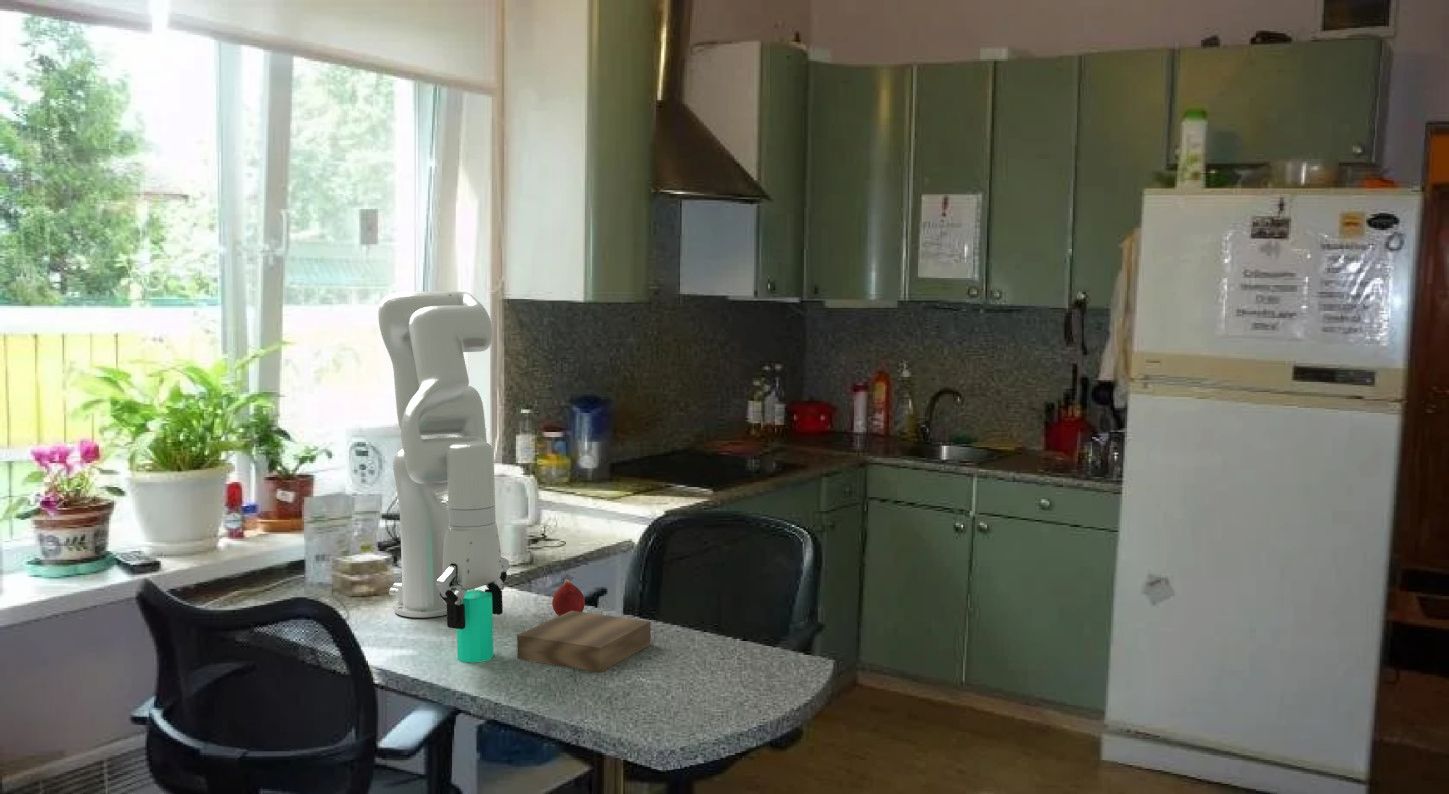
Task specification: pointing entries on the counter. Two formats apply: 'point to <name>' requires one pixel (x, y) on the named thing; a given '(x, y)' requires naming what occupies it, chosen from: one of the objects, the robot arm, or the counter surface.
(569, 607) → the onion
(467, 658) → the candle
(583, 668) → the walnut base
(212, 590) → the counter surface
